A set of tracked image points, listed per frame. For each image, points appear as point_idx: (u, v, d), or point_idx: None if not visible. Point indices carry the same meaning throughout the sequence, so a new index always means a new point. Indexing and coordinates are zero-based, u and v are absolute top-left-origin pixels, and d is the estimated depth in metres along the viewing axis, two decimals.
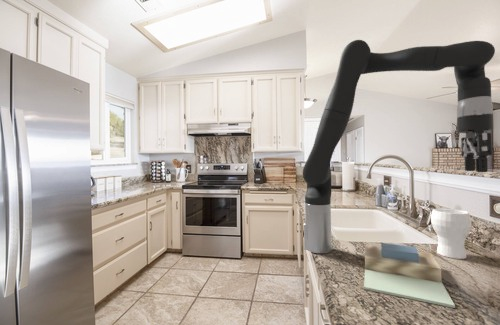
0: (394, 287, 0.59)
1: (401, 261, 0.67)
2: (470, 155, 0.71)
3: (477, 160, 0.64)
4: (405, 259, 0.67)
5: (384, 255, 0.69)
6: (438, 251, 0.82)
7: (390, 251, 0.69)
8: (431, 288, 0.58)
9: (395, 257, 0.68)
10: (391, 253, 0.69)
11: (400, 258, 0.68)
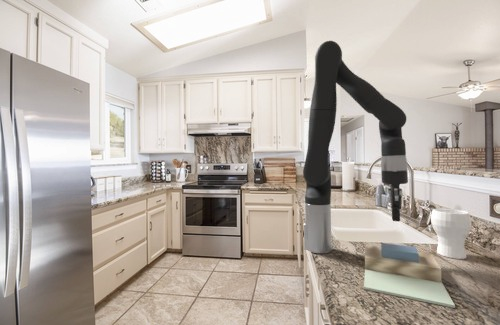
0: (394, 287, 0.59)
1: (401, 261, 0.67)
2: None
3: (392, 211, 0.79)
4: (405, 259, 0.67)
5: (384, 255, 0.69)
6: (438, 251, 0.82)
7: (390, 251, 0.69)
8: (431, 288, 0.58)
9: (395, 257, 0.68)
10: (391, 253, 0.69)
11: (400, 258, 0.68)
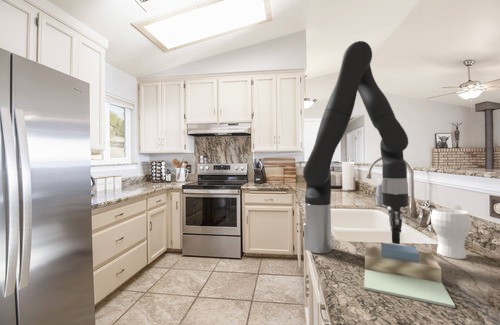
0: (394, 287, 0.59)
1: (401, 261, 0.67)
2: None
3: (392, 234, 0.79)
4: (405, 259, 0.67)
5: (384, 255, 0.69)
6: (438, 251, 0.82)
7: (390, 251, 0.69)
8: (431, 288, 0.58)
9: (395, 257, 0.68)
10: (391, 253, 0.69)
11: (400, 258, 0.68)
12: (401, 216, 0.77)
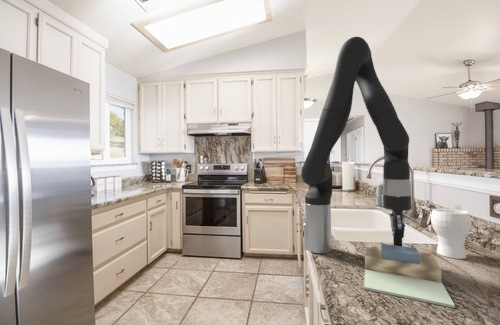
0: (394, 287, 0.59)
1: (401, 261, 0.67)
2: None
3: (394, 239, 0.73)
4: (406, 260, 0.66)
5: (384, 257, 0.69)
6: (438, 251, 0.82)
7: (390, 252, 0.68)
8: (431, 288, 0.58)
9: (395, 258, 0.67)
10: (392, 255, 0.68)
11: (400, 259, 0.67)
12: (404, 220, 0.71)
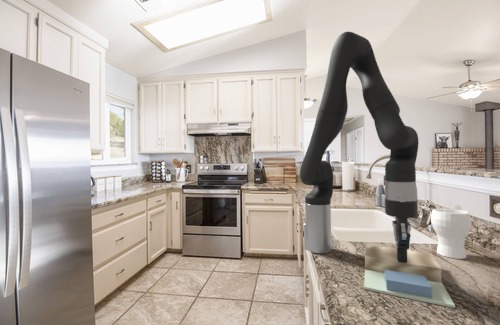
0: None
1: None
2: None
3: (398, 250, 0.64)
4: None
5: None
6: (438, 251, 0.82)
7: None
8: (431, 288, 0.58)
9: None
10: None
11: None
12: (409, 229, 0.62)
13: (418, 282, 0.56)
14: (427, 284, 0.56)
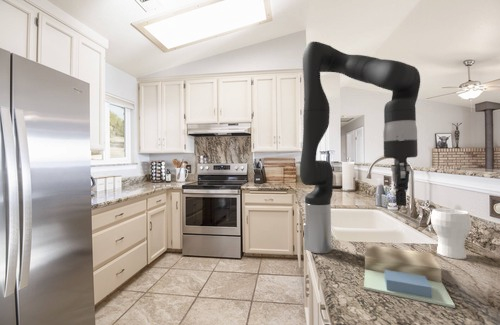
0: None
1: (401, 261, 0.67)
2: None
3: (397, 193, 0.62)
4: None
5: None
6: (438, 251, 0.82)
7: None
8: (431, 288, 0.58)
9: None
10: None
11: None
12: (408, 169, 0.60)
13: (418, 282, 0.56)
14: (427, 284, 0.56)
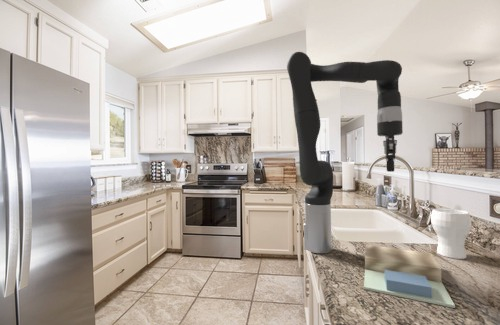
0: None
1: (401, 261, 0.67)
2: None
3: (387, 162, 0.81)
4: None
5: None
6: (438, 251, 0.82)
7: None
8: (431, 288, 0.58)
9: None
10: None
11: None
12: (395, 143, 0.79)
13: (418, 282, 0.56)
14: (427, 284, 0.56)
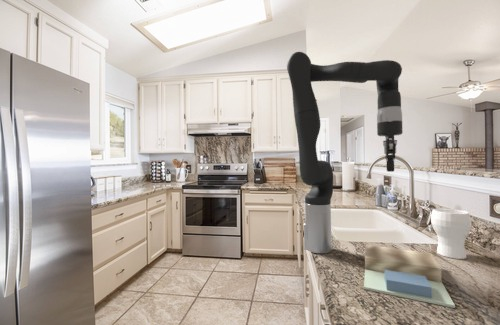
0: None
1: (401, 261, 0.67)
2: None
3: (387, 162, 0.81)
4: None
5: None
6: (438, 251, 0.82)
7: None
8: (431, 288, 0.58)
9: None
10: None
11: None
12: (395, 143, 0.79)
13: (418, 282, 0.56)
14: (427, 284, 0.56)
